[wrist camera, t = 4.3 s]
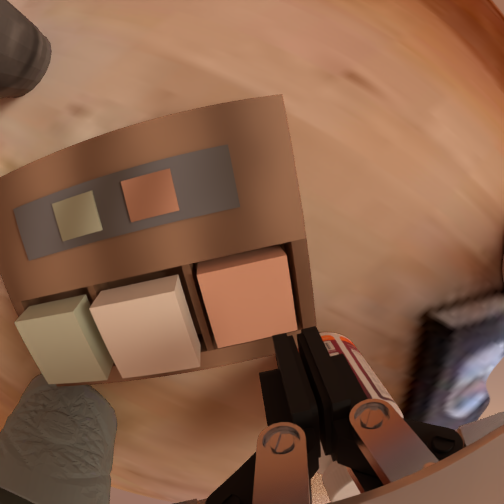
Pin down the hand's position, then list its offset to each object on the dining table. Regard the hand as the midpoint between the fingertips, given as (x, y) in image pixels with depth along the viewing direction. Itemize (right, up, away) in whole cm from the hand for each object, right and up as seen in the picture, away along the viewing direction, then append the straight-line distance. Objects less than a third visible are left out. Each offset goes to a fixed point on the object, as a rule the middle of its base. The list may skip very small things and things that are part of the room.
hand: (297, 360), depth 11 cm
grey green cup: (-17, -10, +10) cm, 22 cm away
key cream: (-7, +1, +5) cm, 9 cm away
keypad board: (-8, +4, +6) cm, 11 cm away
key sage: (-13, -1, +4) cm, 13 cm away
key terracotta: (-2, +2, +6) cm, 7 cm away
